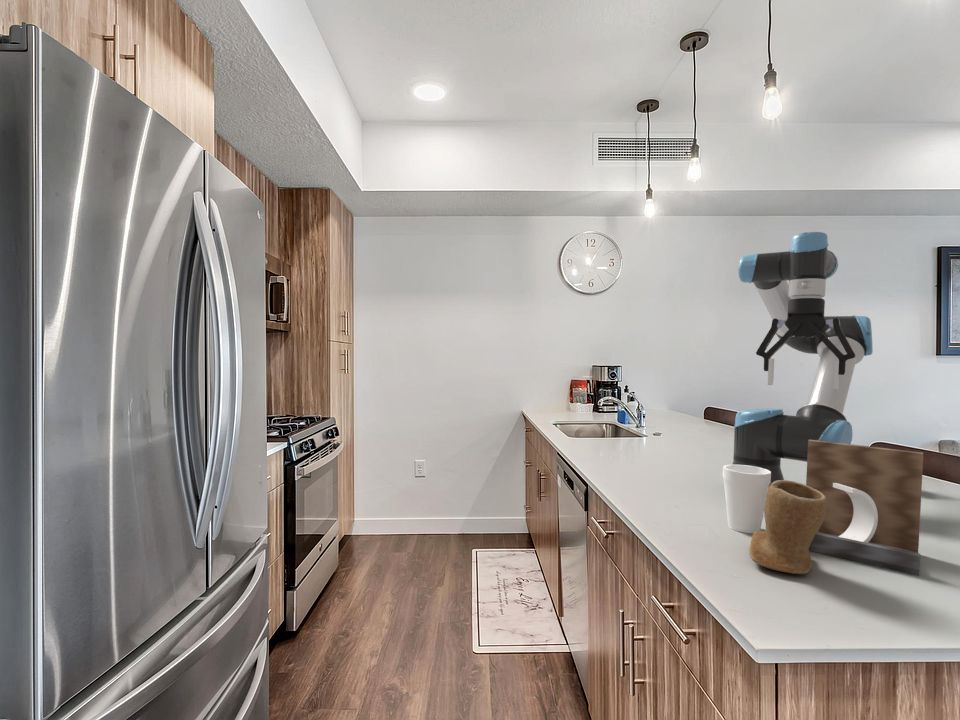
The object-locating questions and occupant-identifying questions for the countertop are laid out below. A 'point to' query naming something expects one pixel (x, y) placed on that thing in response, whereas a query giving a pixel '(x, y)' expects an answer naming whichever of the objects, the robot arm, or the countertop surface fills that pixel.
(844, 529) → the board
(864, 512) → the white curved saddle bracket
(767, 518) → the tan suede boot
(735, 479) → the foam cup
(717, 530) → the countertop surface
